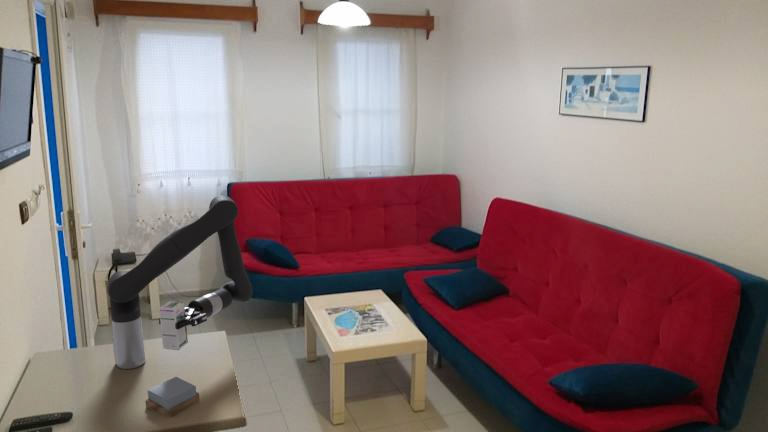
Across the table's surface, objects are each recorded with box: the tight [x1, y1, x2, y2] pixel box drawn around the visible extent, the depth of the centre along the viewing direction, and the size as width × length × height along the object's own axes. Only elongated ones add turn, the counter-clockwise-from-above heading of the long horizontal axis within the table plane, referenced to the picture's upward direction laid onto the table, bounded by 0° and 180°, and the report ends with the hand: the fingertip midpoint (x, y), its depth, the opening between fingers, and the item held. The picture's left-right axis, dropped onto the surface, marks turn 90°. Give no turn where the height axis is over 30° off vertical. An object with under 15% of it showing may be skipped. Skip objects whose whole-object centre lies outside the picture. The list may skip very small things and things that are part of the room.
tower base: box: [144, 391, 200, 418], centre depth 182 cm, size 11×11×3 cm
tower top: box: [147, 376, 197, 409], centre depth 181 cm, size 10×10×3 cm
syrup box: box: [158, 300, 189, 351], centre depth 191 cm, size 6×6×14 cm
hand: (168, 324), depth 189 cm, fingers closed on syrup box, 6 cm apart
